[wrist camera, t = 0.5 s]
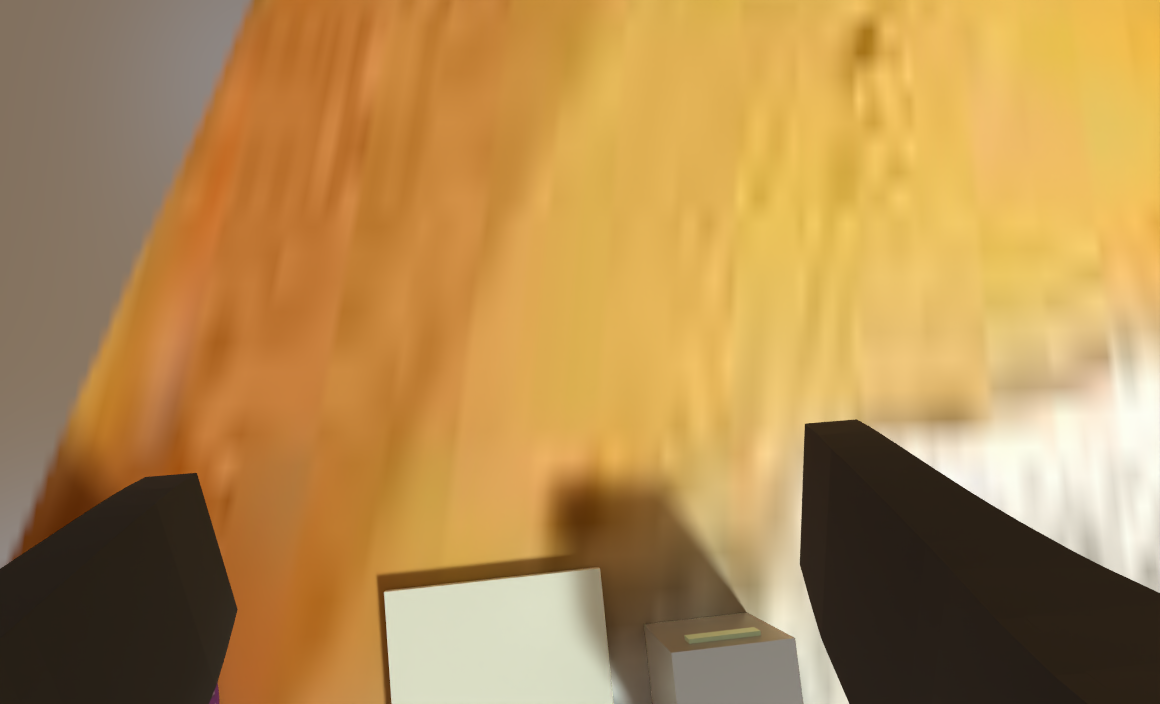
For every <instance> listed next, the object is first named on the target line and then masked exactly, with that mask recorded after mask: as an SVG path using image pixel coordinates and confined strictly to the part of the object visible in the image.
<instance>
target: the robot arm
mask: <svg viewBox="0 0 1160 704" xmlns="http://www.w3.org/2000/svg"><path fill="white" fill-rule="evenodd" d="M800 566H801V570H802V573H803V577H804V581H805V584H806V588H807V591H808V595H809V599H810V602H811V606H812V609H813V612H814V616H815V619H816V622H817V626H818V629H819V632H820V635H821V639H822V641H823V643H824V646H825V648H826V650H827V653H828V655H829V658H830V660H831V662H832V665H833V667H834V669H835V671H836V674H837V676H838V678H839V681H840V683H841V685H842V688H843V690H844V692H845V695H846V697H847V699H848V701H849V704H1160V593H1158V592H1156V591H1154V590H1152V589H1150V588H1148V587H1145V586H1143V585H1141V584H1139V583H1137V582H1135V581H1133V580H1130V579H1128V578H1126V577H1124V576H1122V575H1120V574H1118V573H1115V572H1113V571H1111V570H1109V569H1107V568H1105V567H1103V566H1101V565H1099V564H1097V563H1095V562H1093V561H1091V560H1089V559H1087V558H1085V557H1083V556H1081V555H1079V554H1077V553H1075V552H1073V551H1072V550H1070V549H1068V548H1066V547H1064V546H1063V545H1061V544H1059V543H1057V542H1055V541H1054V540H1052V539H1050V538H1048V537H1046V536H1044V535H1043V534H1041V533H1039V532H1037V531H1035V530H1034V529H1032V528H1030V527H1028V526H1026V525H1025V524H1023V523H1021V522H1019V521H1018V520H1016V519H1014V518H1013V517H1011V516H1009V515H1007V514H1006V513H1004V512H1002V511H1001V510H999V509H997V508H996V507H994V506H992V505H991V504H989V503H987V502H986V501H984V500H983V499H981V498H979V497H978V496H976V495H974V494H973V493H971V492H970V491H968V490H966V489H965V488H963V487H962V486H960V485H959V484H957V483H955V482H954V481H952V480H951V479H949V478H948V477H946V476H945V475H943V474H941V473H940V472H938V471H937V470H935V469H934V468H932V467H931V466H929V465H928V464H926V463H925V462H923V461H922V460H920V459H919V458H917V457H915V456H914V455H912V454H911V453H909V452H908V451H906V450H905V449H903V448H902V447H900V446H899V445H897V444H896V443H894V442H893V441H891V440H890V439H888V438H887V437H885V436H883V435H882V434H880V433H879V432H877V431H876V430H874V429H872V428H871V427H869V426H867V425H866V424H864V423H862V422H860V421H858V420H845V421H833V422H821V423H808V424H805V437H804V465H803V493H802V520H801V548H800ZM236 613H237V606H236V603H235V600H234V596H233V593H232V590H231V586H230V583H229V580H228V576H227V573H226V569H225V566H224V563H223V559H222V556H221V553H220V549H219V546H218V543H217V539H216V536H215V533H214V529H213V526H212V523H211V519H210V516H209V513H208V509H207V506H206V503H205V499H204V496H203V492H202V489H201V486H200V482H199V479H198V476H197V473H190V474H178V475H166V476H153V477H145V478H143V479H141V480H139V481H137V482H135V483H133V484H131V485H129V486H128V487H126V488H124V489H122V490H121V491H119V492H117V493H116V494H114V495H112V496H111V497H109V498H108V499H106V500H104V501H103V502H101V503H100V504H98V505H97V506H95V507H93V508H92V509H90V510H89V511H87V512H86V513H84V514H83V515H81V516H80V517H78V518H76V519H75V520H73V521H72V522H70V523H69V524H67V525H66V526H64V527H63V528H61V529H60V530H58V531H57V532H55V533H54V534H52V535H51V536H49V537H48V538H46V539H45V540H43V541H42V542H40V543H39V544H37V545H36V546H34V547H33V548H31V549H30V550H28V551H27V552H25V553H24V554H22V555H21V556H19V557H17V558H16V559H14V560H13V561H11V562H10V563H8V564H7V565H5V566H4V567H2V568H1V569H0V704H209V702H210V700H211V698H212V695H213V693H214V690H215V688H216V685H217V682H218V678H219V675H220V672H221V668H222V665H223V662H224V658H225V655H226V652H227V648H228V644H229V640H230V636H231V632H232V629H233V625H234V621H235V617H236Z"/></svg>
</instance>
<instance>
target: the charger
mask: <svg viewBox="0 0 1160 704" xmlns="http://www.w3.org/2000/svg"><path fill="white" fill-rule="evenodd" d="M644 632H645V641H646V651H647V660H648V669H649V679H650V688H651V698H652V704H803V697H802V689H801V681H800V674H799V666H798V658H797V650H796V642H795V638H794V637H792V636H790V635H788V634H786V633H784V632H783V631H781V630H779V629H777V628H775V627H773V626H771V625H769V624H768V623H766V622H764V621H762V620H760V619H758V618H756V617H754V616H753V615H751V614H749V613H747V612H745V613H736V614H728V615H719V616H710V617H702V618H693V619H684V620H676V621H667V622H659V623H650V624H644Z"/></svg>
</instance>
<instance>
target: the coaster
mask: <svg viewBox="0 0 1160 704" xmlns="http://www.w3.org/2000/svg"><path fill="white" fill-rule="evenodd" d="M384 599H385V614H386V629H387V644H388V659H389V673H390V688H391V703H392V704H614V702H613V692H612V682H611V672H610V662H609V652H608V642H607V632H606V622H605V613H604V603H603V593H602V583H601V573H600V568H599V567H593V568H584V569H575V570H566V571H557V572H548V573H539V574H530V575H520V576H511V577H502V578H493V579H484V580H475V581H466V582H457V583H448V584H438V585H429V586H420V587H411V588H402V589H393V590H386V591H385V592H384Z"/></svg>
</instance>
